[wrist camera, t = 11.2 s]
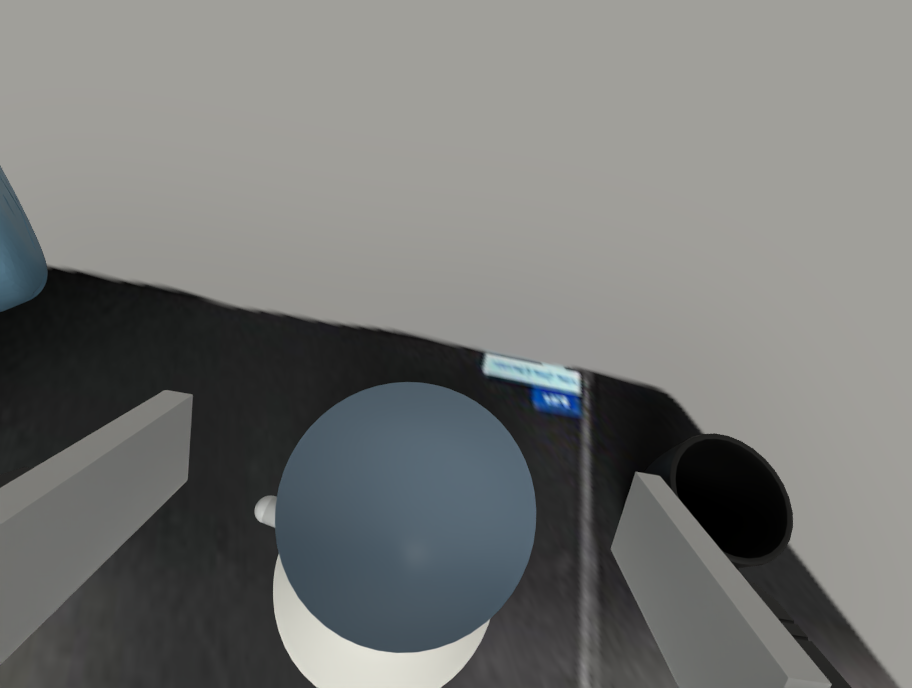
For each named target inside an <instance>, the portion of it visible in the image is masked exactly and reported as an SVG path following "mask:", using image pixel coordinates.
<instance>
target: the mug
mask: <svg viewBox="0 0 912 688" xmlns="http://www.w3.org/2000/svg"><path fill="white" fill-rule="evenodd" d="M643 473H646V474H652V475H657V476H660V477H661V478H662V479H663V480H664V482H665V483H666V484H667V485H668V486H669V488H670V489H671V490H672V491H673V492H674V494H675V495H676V496H677V497H678V498H679V500H680V501H681V502H682V503H683V505H684V506H685V507H686V508H687V509H688V511H689V512H690V513H691V514H692V515H693V517H694V518H695V519H696V520H697V521H698V523H699V524H700V525H701V526H702V528H703V529H704V530H705V531H706V532H707V534H708V535H709V536H710V537H711V538H712V540H713V541H714V542H715V543H716V544H717V546H718V547H719V548H720V549H721V551H722V552H723V553H724V554H725V555H726V557H727V558H728V559H729V560H730V561H731V563H732V564H733V565H734V566H735V568H736V569H737V570H738V571H739V568H743V567H750V566H758V565H763V564H765V563H768V562H770V561H772V560H774V559H775V558H776V557H777V556H778V555H780V554H781V553H782V552H783V551H784V549H785V548H786V546H787V544H788V542H789V540H790V537H791V532H792V528H793V516H792V515H793V513H792V508H791V504H790V499H789V496H788V494H787V492H786V489H785V487H784V485H783V483H782V481H781V480H780V478H779V476H778V475H777V473H776V472H775V470H774V469H773V468H772V467H771V465H770V464H769V463H768V462H767V461H766V460H765V459H764V458H763V457H762V456H761V455H760V454H759V453H757V452H756V451H755V450H754V449H753V448H751V447H749V446H748V445H746V444H744V443H743V442H741V441H739V440H737V439H734V438H732V437H729V436H724V435H720V434H701V435H697V436H694V437H691V438H689V439H687V440H686V441H684V442H682V443H680V444H678V445H677V446H675V447H673V448H672V449H670V450H668V451H667V452H665V453H664V454H662V455H661V456H659V457H658V458H657V459H656V460H654V461H653V462H652V463H651V464H650V465H649V466H648V468H647V469H646V470H645V471H644V472H643ZM627 497H628V496H627ZM626 500H627V499H626ZM625 503H626V501H625ZM625 503H624V506H625Z"/></svg>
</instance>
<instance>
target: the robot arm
mask: <svg viewBox="0 0 912 688" xmlns="http://www.w3.org/2000/svg"><path fill="white" fill-rule="evenodd" d="M47 274H48V272H47V265H46V261H45V258H44V255H43V252H42V249H41V247H40V244H39V242H38V240H37V237H36V235H35V233H34V231H33V229H32V227H31V224H30V222H29V220H28V218H27V216H26V214H25V212H24V210H23V208H22V206H21V204H20V202H19V200H18V198H17V196H16V194H15V192H14V190H13V188H12V187H11V185H10V183H9V181H8V179H7V177H6V175H5V174H4V172H3V170H2V168H1V166H0V312H2V311H5V310H7V309H10V308H12V307H15V306H17V305H20V304H22V303H25V302H27V301H29V300H31V299H33V298H34V297H35V296H37V295H38V294H39V293H40V292H41V291H42V289H43V288H44V286H45V284H46V281H47ZM192 399H193V395H192V394H186V393H180V392H174V391H168V390H164V391H163V392H161V393H159V394H158V395H156V396H154V397H153V398H151V399H149V400H147V401H146V402H144V403H142V404H141V405H139V406H137V407H136V408H134V409H132V410H131V411H129V412H127V413H126V414H124V415H122V416H121V417H119V418H117V419H115V420H114V421H112V422H110V423H109V424H107V425H105V426H104V427H102V428H100V429H99V430H97V431H95V432H94V433H92V434H90V435H88V436H87V437H85V438H83V439H82V440H80V441H78V442H77V443H75V444H73V445H72V446H70V447H68V448H67V449H65V450H63V451H62V452H60V453H58V454H56V455H55V456H53V457H51V458H50V459H48V460H46V461H45V462H43V463H41V464H40V465H38V466H36V467H35V468H29V467H22V468H19V469H16V470H13V471H10V472H7V473H4V474H1V475H0V665H1V664H2V663H3V662H4V661H5V660H6V659H7V658H8V657H9V656H10V655H11V654H12V653H13V652H14V651H15V650H16V649H17V648H18V647H19V646H20V645H21V644H22V643H23V642H24V641H25V640H26V639H27V638H28V637H29V636H30V635H31V634H32V633H33V632H34V631H35V630H36V629H37V628H38V627H39V626H40V625H41V624H42V623H43V622H44V621H45V620H46V619H48V618H49V617H50V616H51V615H52V614H53V613H54V612H55V611H56V610H57V609H58V608H59V607H60V606H61V605H62V604H63V603H64V602H65V601H66V600H67V599H68V598H69V597H70V596H71V595H72V594H73V593H74V592H75V591H76V590H77V589H78V588H79V587H80V586H81V585H82V584H83V583H84V582H85V581H86V580H87V579H88V578H89V577H90V576H91V575H92V574H93V573H94V572H95V571H96V570H97V569H98V568H99V567H100V566H101V565H102V564H103V563H104V562H105V561H106V560H107V559H108V558H109V557H110V556H111V555H112V554H113V553H114V552H115V551H116V550H117V549H118V548H119V547H120V546H121V545H122V544H123V543H124V542H125V541H126V540H127V539H128V538H129V537H131V536H132V535H133V534H134V533H135V532H136V531H137V530H138V529H139V528H140V527H141V526H142V525H143V524H144V523H145V522H146V521H147V520H148V519H149V518H150V517H151V516H152V515H153V514H154V513H155V512H156V511H157V510H158V509H159V508H160V507H161V506H162V505H163V504H164V503H165V502H166V501H167V500H168V499H169V498H170V497H171V496H172V495H173V494H174V493H175V492H176V491H177V490H178V489H179V488H180V487H181V486H182V485H183V484H184V483H185V482H186V481H187V480H188V464H189V448H190V431H191V415H192ZM611 551H612V553H613V555H614V557H615V559H616V561H617V563H618V565H619V567H620V569H621V571H622V573H623V575H624V577H625V579H626V581H627V583H628V585H629V588H630V590H631V592H632V594H633V596H634V598H635V600H636V602H637V604H638V606H639V608H640V610H641V612H642V614H643V616H644V618H645V620H646V622H647V624H648V626H649V628H650V630H651V632H652V634H653V636H654V638H655V640H656V642H657V645H658V647H659V649H660V651H661V653H662V655H663V657H664V659H665V661H666V663H667V665H668V667H669V669H670V671H671V673H672V675H673V677H674V679H675V681H676V683H677V685H678V687H679V688H851V687H850V685H849V684H848V683H847V682H846V681H845V680H844V679H843V677H842V676H841V675H840V674H839V673H838V672H837V670H836V669H835V668H834V667H833V666H832V665H831V663H830V662H829V661H828V660H827V659H826V658H825V656H824V655H823V654H822V653H821V652H820V651H819V650H818V648H817V647H816V646H815V645H814V644H813V643H812V641H808V637H807V636H806V634H805V633H804V632H803V631H802V630H801V629H800V627H799V626H798V625H796V624H794V620H793V619H792V618H791V617H790V616H789V615H788V614H787V612H786V611H785V610H784V609H783V608H782V607H781V605H780V604H779V603H778V602H777V601H776V600H775V599H774V598H772V597H771V596H770V595H769V594H767V593H766V592H765V591H764V590H762V589H761V588H760V587H759V586H757V585H756V584H755V583H751V582H747V581H746V580H745V578H744V577H743V576H742V575H741V574H740V572H739V571H738V570H737V569H736V568H735V566H734V565H733V564H732V563H731V561H730V560H729V559H728V558H727V557H726V555H725V554H724V553H723V552H722V551H721V549H720V548H719V547H718V546H717V544H716V543H715V542H714V541H713V540H712V538H711V537H710V536H709V535H708V534H707V532H706V531H705V530H704V529H703V528H702V526H701V525H700V524H699V523H698V521H697V520H696V519H695V518H694V517H693V515H692V514H691V513H690V512H689V511H688V509H687V508H686V507H685V506H684V505H683V503H682V502H681V501H680V500H679V498H678V497H677V496H676V495H675V494H674V492H673V491H672V490H671V489H670V488H669V486H668V485H667V484H666V483H665V482H664V480H663V479H662V478H661V477H660V476H657V475H652V474H646V473H640V472H635V475H634V478H633V481H632V484H631V487H630V491H629V494H628V497H627V500H626V503H625V506H624V509H623V512H622V515H621V518H620V522H619V525H618V528H617V531H616V534H615V537H614V540H613V543H612V546H611Z"/></svg>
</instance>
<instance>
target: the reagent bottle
mask: <svg viewBox="0 0 912 688" xmlns="http://www.w3.org/2000/svg"><path fill="white" fill-rule="evenodd" d="M276 501H277V497H276V496H266V497H263V498H262V499H260V500H259V501H258V503H257V504H256V506H255V516H256V518H257V519H258V520H259V521H260V522H262V523H264V524H267V525H270V526H272V527H275V507H276ZM273 601H274V612H275V617H276V622H277V626H278V630H279V633H280V636H281V638H282V641H283V643H284V646H285V648H286V650H287V652H288V653H289V655H290V657H291V659H292V661H293V662H294V663H295V665H296V666H297V667H298V668H299V670H300V671H301V672H302V674H303V675H304V676H305V677H306V678H307V679H308V680H309V681H311V682H312V683H313V684H314V685H315V686H316V687H318V688H441V687H442V686H443V685H444V684H446V683H447V682H448V681H450V680H451V679H452V678H453V677H454V676H455V675H456V674H457V673H458V672H459V671H460V670H461V669H462V668H463V667H464V666H465V664H466V663H467V662H468V660H469V659H470V658H471V657H472V655H473V654H474V652H475V650H476V649H477V647H478V645H479V644H480V642H481V640H482V638H483V636H484V633H485V631H486V629H487V627H488V624H489V621H490V619H489V620H488V621H487V622H486V623H485V624H483V625H482V626H480V627H479V628H478V629H476V630H475V631H474V632H472V633H471V634H469V635H467V636H465V637H463V638H461V639H459V640H458V641H456V642H454V643H451V644H448V645H445V646H442V647H439V648H437V649H432V650H427V651H421V652H414V653H392V652H384V651H377V650H374V649H370V648H367V647H363V646H360V645H357V644H355V643H353V642H351V641H349V640H346V639H344V638H342V637H340V636H339V635H337V634H336V633H334V632H333V631H331V630H330V629H328V628H327V627H325V626H324V625H323V624H322V623H321V622H320V621H319V620H318V619H317V618H315V617H314V616H313V615H312V614H311V613H310V612H309V610H308V609H307V608H306V607H305V605H304V604H303V603H302V602H301V600H300V599H299V598H298V596H297V595H296V593H295V591H294V589H293V588H292V586H291V584H290V582H289V581H288V578H287V576H286V573H285V571H284V568H283V566H282V563H281V559H280V555H278V558H277V562H276V567H275V574H274V582H273Z"/></svg>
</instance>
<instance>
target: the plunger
mask: <svg viewBox="0 0 912 688" xmlns="http://www.w3.org/2000/svg"><path fill="white" fill-rule="evenodd" d="M535 528H536V503H535V493H534V488H533V483H532V479H531V475H530V472H529V469H528V467H527V464H526V461H525V459H524V457H523V455H522V453H521V451H520V449H519V447H518V445H517V444H516V442H515V441H514V439H513V438H512V436H511V434H510V433H509V432H508V431H507V429H506V428H505V427H504V426H503V425H502V423H501V422H500V421H499V420H498V419H497V418H496V417H494V416H493V415H492V414H491V413H490V412H489V411H488V410H487V409H485V408H484V407H482V406H481V405H480V404H478V403H477V402H475V401H474V400H472V399H470V398H468V397H467V396H465V395H463V394H460V393H458V392H456V391H453V390H451V389H448V388H444V387H441V386H438V385H433V384H426V383H418V382H400V383H390V384H385V385H379V386H375V387H372V388H369V389H366V390H363V391H360V392H358V393H356V394H354V395H352V396H350V397H347V398H346V399H344V400H343V401H341V402H339V403H338V404H336V405H334V406H333V407H332V408H331V409H329V410H328V411H327V412H326V413H324V414H323V415H322V416H321V417H320V418H319V419H318V420H317V421H316V422H315V423H314V424H313V425H312V426H311V427H310V428H309V429H308V430H307V432H306V433H305V434H304V436H303V437H302V438H301V439H300V441H299V442H298V444H297V446H296V447H295V449H294V451H293V452H292V454H291V456H290V458H289V460H288V463H287V465H286V467H285V470H284V472H283V475H282V479H281V482H280V485H279V489H278V494H277V501H276V507H275V532H276V541H277V547H278V551H279V555H280V559H281V563H282V566H283V568H284V571H285V573H286V576H287V578H288V581H289V582H290V584H291V586H292V588H293V589H294V591H295V593H296V595H297V596H298V598H299V599H300V600H301V602H302V603H303V604H304V605H305V607H306V608H307V609H308V610H309V612H310V613H311V614H312V615H313V616H314V617H315V618H317V619H318V620H319V621H320V622H321V623H322V624H323V625H324V626H325V627H327V628H328V629H330V630H331V631H333V632H334V633H336V634H337V635H339V636H340V637H342V638H344V639H346V640H349V641H351V642H353V643H355V644H357V645H360V646H363V647H367V648H370V649H374V650H377V651H384V652H392V653H414V652H421V651H427V650H432V649H437V648H439V647H442V646H445V645H448V644H451V643H454V642H456V641H458V640H459V639H461V638H463V637H465V636H467V635H469V634H471V633H472V632H474V631H475V630H476V629H478V628H479V627H480V626H482V625H483V624H485V623H486V622H487V621H488V620H489V619H490V618H491V617H492V616H493V615H494V614H495V613H496V612H497V611H498V610H500V609H501V607H502V606H503V605H504V603H505V602H506V601H507V600H508V598H509V597H510V596H511V594H512V593H513V591H514V589H515V588H516V586H517V584H518V583H519V581H520V579H521V577H522V575H523V573H524V570H525V568H526V566H527V563H528V561H529V557H530V553H531V550H532V546H533V542H534V535H535Z"/></svg>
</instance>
